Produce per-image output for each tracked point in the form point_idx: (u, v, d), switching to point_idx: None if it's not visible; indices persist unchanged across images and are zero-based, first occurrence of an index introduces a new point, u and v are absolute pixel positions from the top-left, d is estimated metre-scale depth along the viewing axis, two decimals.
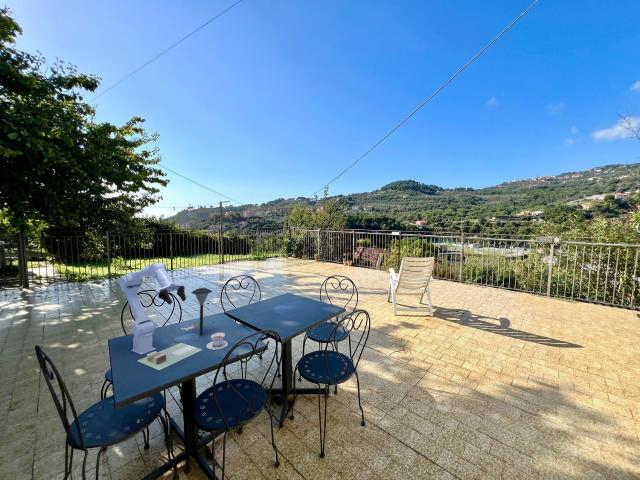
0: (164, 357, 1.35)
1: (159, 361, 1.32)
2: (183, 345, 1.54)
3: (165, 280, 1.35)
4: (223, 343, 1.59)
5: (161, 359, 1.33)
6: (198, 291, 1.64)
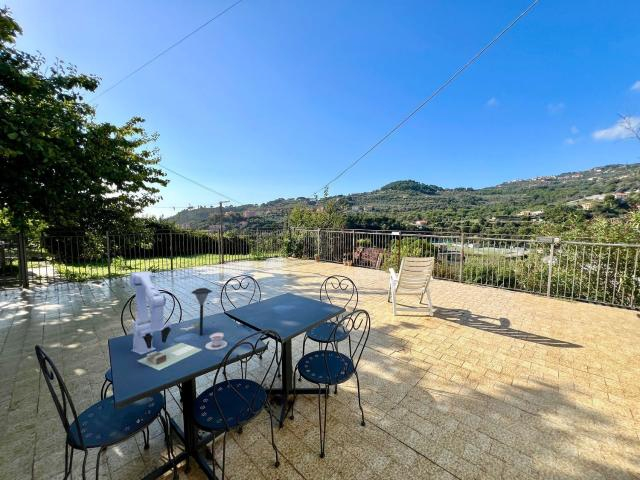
0: (164, 357, 1.35)
1: (159, 361, 1.32)
2: (183, 345, 1.54)
3: (157, 322, 1.32)
4: (222, 343, 1.59)
5: (161, 359, 1.33)
6: (198, 291, 1.64)
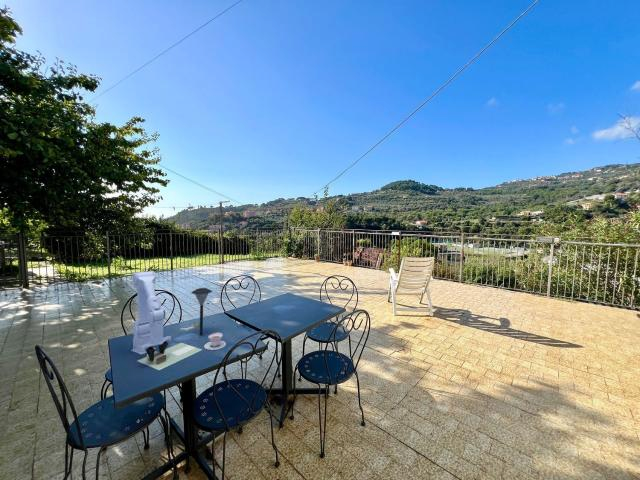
0: (164, 357, 1.35)
1: (159, 361, 1.32)
2: (183, 345, 1.54)
3: (157, 336, 1.33)
4: (221, 343, 1.58)
5: (161, 359, 1.33)
6: (198, 291, 1.64)
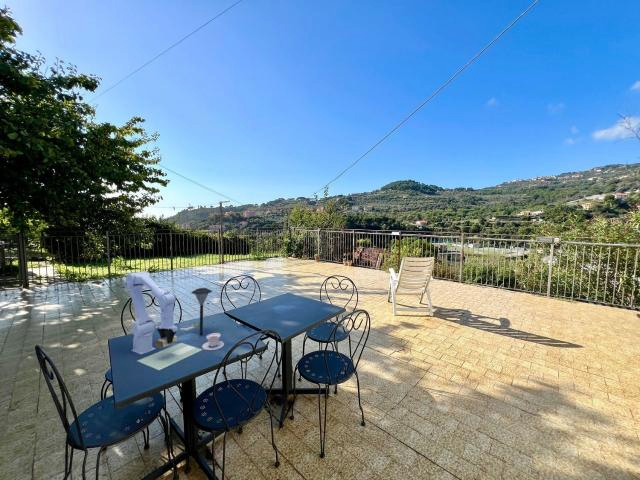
0: (159, 343, 1.35)
1: (156, 344, 1.36)
2: (183, 345, 1.54)
3: None
4: (219, 344, 1.58)
5: (157, 343, 1.35)
6: (198, 291, 1.64)
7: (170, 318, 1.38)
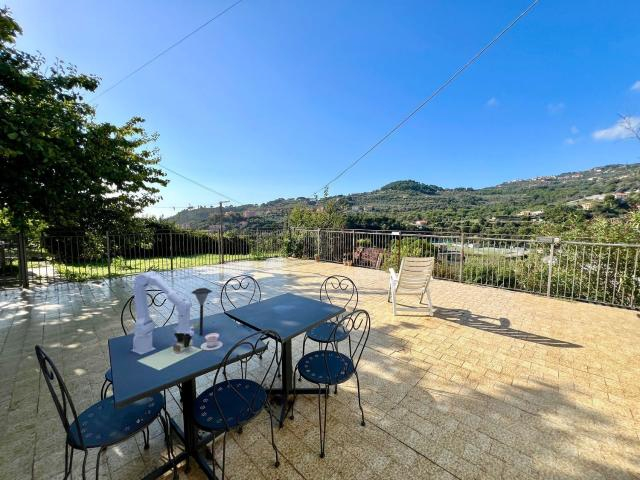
0: (177, 347, 1.42)
1: (174, 348, 1.44)
2: None
3: (178, 324, 1.45)
4: (218, 344, 1.58)
5: (175, 347, 1.43)
6: (198, 291, 1.64)
7: (187, 323, 1.46)
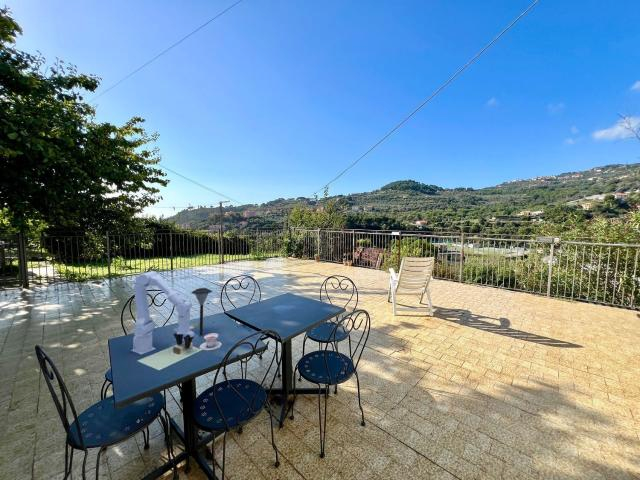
0: (177, 350, 1.42)
1: (174, 351, 1.44)
2: None
3: (178, 325, 1.45)
4: (217, 344, 1.58)
5: (175, 350, 1.43)
6: (198, 291, 1.64)
7: (187, 324, 1.46)
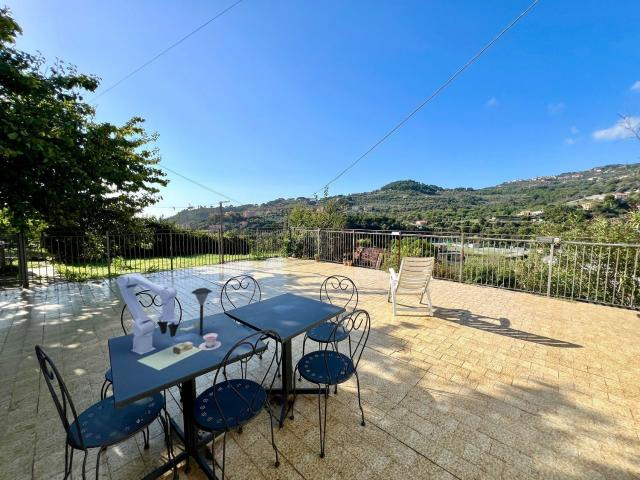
0: (177, 350, 1.42)
1: (174, 351, 1.44)
2: None
3: (162, 313, 1.42)
4: (216, 344, 1.58)
5: (175, 350, 1.43)
6: (198, 291, 1.64)
7: (171, 312, 1.42)
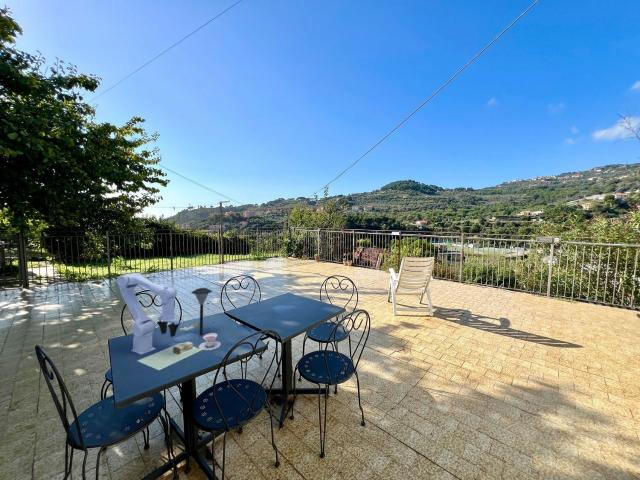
0: (177, 350, 1.42)
1: (174, 351, 1.44)
2: None
3: (162, 313, 1.42)
4: (216, 344, 1.58)
5: (175, 350, 1.43)
6: (198, 291, 1.64)
7: (171, 312, 1.42)
